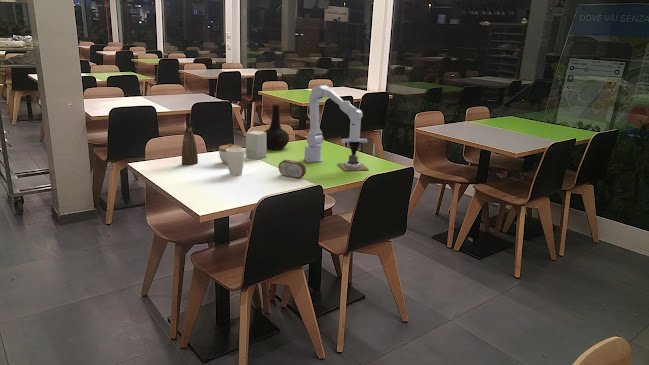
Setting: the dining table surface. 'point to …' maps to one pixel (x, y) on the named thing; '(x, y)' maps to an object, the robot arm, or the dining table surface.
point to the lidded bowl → (223, 152)
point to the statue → (189, 147)
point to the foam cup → (235, 160)
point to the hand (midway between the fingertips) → (353, 155)
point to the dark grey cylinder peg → (353, 159)
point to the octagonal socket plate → (352, 166)
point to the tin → (292, 169)
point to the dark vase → (276, 131)
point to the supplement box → (256, 144)
